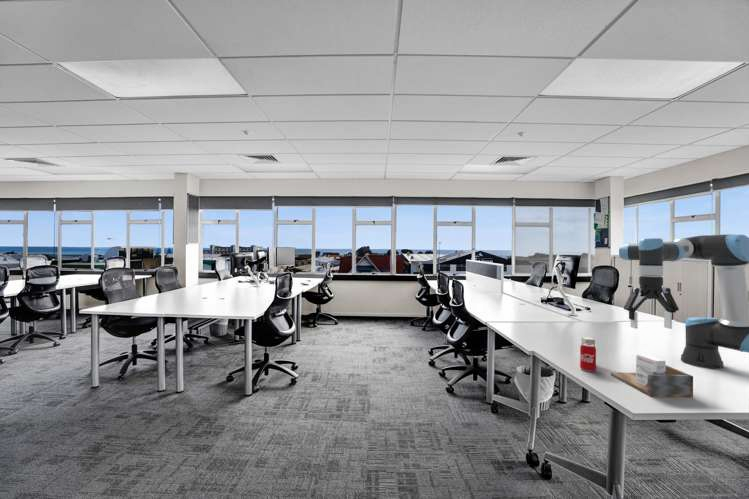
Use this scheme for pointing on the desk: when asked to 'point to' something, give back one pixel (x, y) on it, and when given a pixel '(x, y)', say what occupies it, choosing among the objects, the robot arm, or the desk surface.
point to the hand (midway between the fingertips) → (650, 327)
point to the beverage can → (588, 357)
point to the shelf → (661, 383)
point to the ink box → (648, 368)
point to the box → (588, 340)
